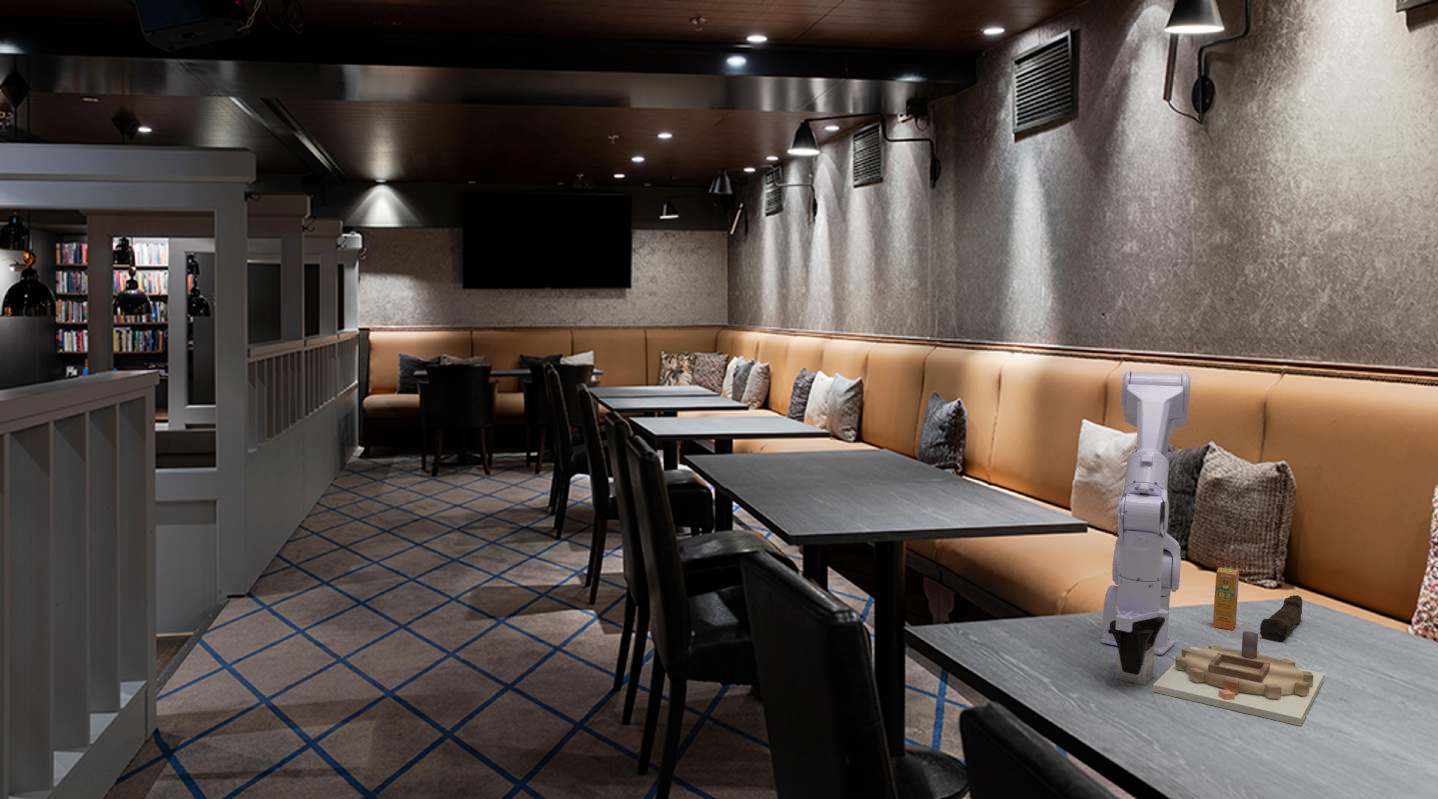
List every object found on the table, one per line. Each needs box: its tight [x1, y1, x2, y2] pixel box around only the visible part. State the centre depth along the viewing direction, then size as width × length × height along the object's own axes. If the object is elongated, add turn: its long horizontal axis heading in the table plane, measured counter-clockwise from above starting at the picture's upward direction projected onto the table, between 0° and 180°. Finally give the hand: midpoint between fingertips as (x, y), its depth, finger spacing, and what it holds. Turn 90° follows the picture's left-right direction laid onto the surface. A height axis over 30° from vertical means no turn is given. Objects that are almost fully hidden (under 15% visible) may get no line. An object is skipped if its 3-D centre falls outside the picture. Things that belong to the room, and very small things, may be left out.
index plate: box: [1152, 646, 1326, 727], centre depth 139 cm, size 18×22×2 cm
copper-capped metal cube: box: [1115, 642, 1155, 686], centre depth 141 cm, size 4×4×5 cm
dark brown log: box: [1259, 594, 1303, 643], centre depth 167 cm, size 19×4×5 cm, turn 136°
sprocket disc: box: [1174, 630, 1313, 699], centre depth 140 cm, size 17×17×5 cm
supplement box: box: [1212, 567, 1240, 631], centre depth 167 cm, size 3×3×10 cm
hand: (1135, 668), depth 141 cm, fingers closed on copper-capped metal cube, 4 cm apart
